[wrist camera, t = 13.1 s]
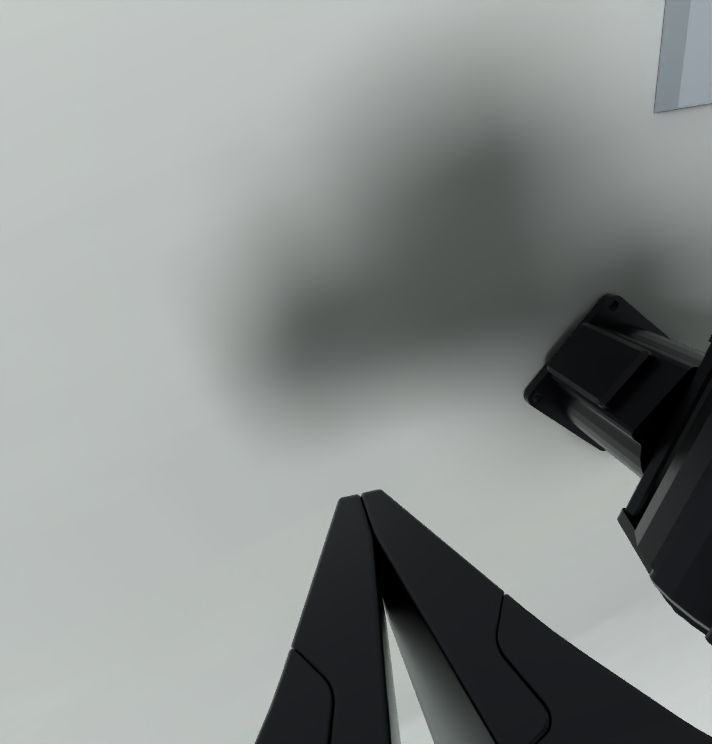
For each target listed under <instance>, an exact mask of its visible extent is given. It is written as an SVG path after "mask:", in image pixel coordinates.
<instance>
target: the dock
mask: <svg viewBox="0 0 712 744" xmlns="http://www.w3.org/2000/svg"><path fill="white" fill-rule="evenodd" d="M710 103H712V0H666V5H665V14H664V24H663V33H662V43H661V52H660V62H659V71H658V81H657V90H656V100H655V109H654V113H656V112H662V111H668V110H674V109H680V108H686V107H692V106H698V105H704V104H710Z"/></svg>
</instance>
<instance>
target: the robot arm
mask: <svg viewBox="0 0 712 744" xmlns="http://www.w3.org/2000/svg"><path fill="white" fill-rule="evenodd" d="M612 301H613V304H612V306H611V307H610V308H609V304H610V303H611V302H612ZM709 342H711V344H710V346H709V348H708V350H707V352H706V353H703V352H701V351H698V350H696V349H693V348H691V347H688V346H686V345H683V344H680V343H678V342H675V341H673V340H671V339H670V338H668V337H667V336H666V335H665V334H664V333H663V332H661V331H660V330H659V329H658V328H657V327H656V326H654V325H653V324H652V323H651V322H650V321H649V320H647V319H646V318H645V317H644V316H643V315H642V314H640V313H639V312H638V311H637V310H636V309H635V308H633V307H632V306H631V305H630V304H629V303H628V302H626V301H625V300H624V299H623V298H622V297H620V296H618V295H615V294H612V293H610V294H606V295H604V296H603V297H602V298H601V299H600V300H599V302H598V303H597V304H596V305H595V306H594V308H593V309H592V310H591V311H590V313H589V314H588V315H587V316H586V318H585V319H584V320H583V321H582V322H581V324H580V325H579V326H578V327H577V329H576V330H575V331H574V332H573V333H572V335H571V336H570V337H569V338H568V340H567V341H566V342H565V343H564V344H563V346H562V347H561V348H560V349H559V351H558V352H557V353H556V354H555V356H554V357H553V358H552V359H551V360H550V362H549V363H548V364H547V365H546V367H545V368H544V369H543V370H542V371H541V373H540V374H539V375H538V376H537V378H536V379H535V380H534V381H533V382H532V384H531V385H530V386H529V387H528V389H527V390H526V392H525V394H524V398H525V400H526V401H527V402H528V403H529V404H530V405H531V406H533V407H534V408H536V409H537V410H539V411H540V412H542V413H543V414H545V415H547V416H548V417H550V418H551V419H553V420H554V421H556V422H557V423H559V424H560V425H562V426H564V427H565V428H567V429H568V430H570V431H571V432H573V433H574V434H576V435H577V436H579V437H581V438H582V439H584V440H585V441H587V442H588V443H590V444H591V445H593V446H594V447H596V448H598V449H599V450H601V451H606V450H607V451H608V452H609V453H610V454H612V455H613V456H614V457H615V458H617V459H618V460H619V461H620V462H621V463H623V464H624V465H625V466H626V467H628V468H629V469H630V470H631V471H633V472H634V473H635V474H636V475H638V476H639V477H640V478H641V480H640V482H639V483H638V485H637V487H636V489H635V491H634V493H633V495H632V497H631V499H630V501H629V503H628V505H627V507H626V508H623V509H622V511H621V513H620V515H619V516H618V518H617V520H618V522H619V524H620V525H621V527H622V529H623V530H624V532H625V534H626V535H627V537H628V539H629V541H630V542H631V544H632V546H633V547H634V549H635V551H636V552H637V554H638V556H639V557H640V559H641V561H642V563H643V564H644V566H645V568H646V569H647V571H648V573H649V574H650V578H651V580H652V582H653V584H654V585H655V587H656V588H657V589H658V590H659V591H660V593H661V594H662V596H663V597H664V598H665V600H666V601H667V602H668V603H669V605H670V606H671V607H672V608H673V610H674V611H675V612H676V613H677V614H678V615H679V616H681V617H683V618H684V619H685V620H686V621H687V622H689V623H690V624H691V625H692V626H694V627H695V628H696V629H698V630H699V631H701V632H702V633H704V634H705V635H706V636H705V638H706V640H707V641H708V642H709V643H710V644H711V645H712V335H711V337H710V339H709ZM536 393H538V395H537V397H536V398H534V399H533V396H534V395H535V394H536ZM383 603H384V604H383ZM384 607H385V610H386V614H387V617H388V620H389V622H390V625H391V628H392V631H393V633H394V636H395V639H396V642H397V644H398V647H399V650H400V652H401V655H402V658H403V660H404V663H405V666H406V668H407V671H408V674H409V677H410V679H411V682H412V685H413V687H414V690H415V693H416V695H417V698H418V701H419V703H420V706H421V709H422V712H423V714H424V717H425V720H426V722H427V725H428V728H429V730H430V733H431V736H432V738H433V741H434V744H712V737H711V736H709V735H707V734H706V733H704V732H702V731H700V730H699V729H697V728H695V727H693V726H692V725H690V724H689V723H687V722H686V721H684V720H682V719H681V718H679V717H678V716H676V715H675V714H673V713H672V712H670V711H669V710H667V709H666V708H664V707H663V706H662V705H660V704H659V703H657V702H656V701H654V700H653V699H651V698H650V697H648V696H647V695H645V694H644V693H642V692H641V691H639V690H638V689H636V688H635V687H633V686H632V685H631V684H629V683H628V682H626V681H625V680H623V679H622V678H620V677H619V676H617V675H616V674H614V673H613V672H611V671H610V670H608V669H607V668H605V667H604V666H602V665H601V664H600V663H598V662H597V661H595V660H594V659H592V658H591V657H589V656H588V655H586V654H585V653H583V652H582V651H581V650H579V649H578V648H576V647H575V646H574V645H572V644H571V643H569V642H568V641H567V640H565V639H564V638H562V637H561V636H559V635H558V634H557V633H555V632H554V631H553V630H551V629H550V628H549V627H547V626H546V625H545V624H544V623H542V622H541V621H540V620H539V619H537V618H536V617H535V616H533V615H532V614H531V613H530V612H528V611H527V610H526V609H525V608H523V607H522V606H521V605H520V604H519V603H517V602H516V601H515V600H514V599H513V598H511V597H510V596H509V595H508V594H505V595H504V591H503V590H502V589H500V588H499V587H498V586H497V585H496V584H494V583H493V582H492V581H491V580H490V579H488V578H487V577H486V576H485V575H484V574H482V573H481V572H480V571H479V570H477V569H476V568H475V567H474V566H473V565H471V564H470V563H469V562H468V561H467V560H465V559H464V558H463V557H462V556H461V555H459V554H458V553H457V552H456V551H455V550H453V549H452V548H451V547H450V546H449V545H447V544H446V543H445V542H444V541H443V540H441V539H440V538H439V537H438V536H437V535H435V534H434V533H433V532H432V531H431V530H429V529H428V528H427V527H426V526H425V525H423V524H422V523H421V522H420V521H419V520H417V519H416V518H415V517H414V516H413V515H411V514H410V513H409V512H408V511H406V510H405V509H404V508H403V507H402V506H400V505H399V504H398V503H397V502H396V501H394V500H393V499H392V498H391V497H390V496H388V495H387V494H386V493H385V492H384V491H382V490H374V491H369V492H365V493H362V494H361V497H360V496H359V495H358V494H356V495H351V496H347V497H342V498H340V499H339V501H338V503H337V506H336V509H335V512H334V515H333V519H332V522H331V525H330V528H329V531H328V534H327V537H326V540H325V543H324V546H323V549H322V553H321V556H320V559H319V562H318V565H317V568H316V571H315V574H314V577H313V580H312V583H311V586H310V590H309V593H308V596H307V599H306V602H305V605H304V608H303V611H302V614H301V617H300V620H299V624H298V627H297V630H296V633H295V636H294V639H293V642H292V645H291V647H292V649H291V650H290V651H289V654H288V657H287V660H286V663H285V666H284V669H283V672H282V675H281V678H280V681H279V683H278V686H277V689H276V692H275V695H274V697H273V700H272V703H271V706H270V708H269V711H268V713H267V716H266V718H265V720H264V723H263V725H262V727H261V730H260V732H259V735H258V737H257V739H256V742H255V744H401V742H400V733H399V725H398V716H397V708H396V699H395V691H394V682H393V674H392V665H391V657H390V649H389V640H388V632H387V624H386V617H385V610H384Z"/></svg>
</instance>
